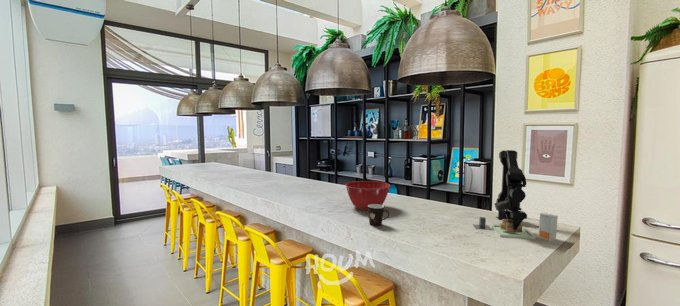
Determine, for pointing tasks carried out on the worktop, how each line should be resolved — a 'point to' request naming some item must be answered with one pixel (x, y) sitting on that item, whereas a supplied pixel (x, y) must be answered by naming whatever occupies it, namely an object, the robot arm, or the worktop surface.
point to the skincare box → (548, 226)
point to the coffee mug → (376, 214)
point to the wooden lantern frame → (510, 226)
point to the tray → (513, 233)
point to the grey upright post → (482, 224)
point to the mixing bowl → (367, 193)
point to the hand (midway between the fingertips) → (512, 227)
